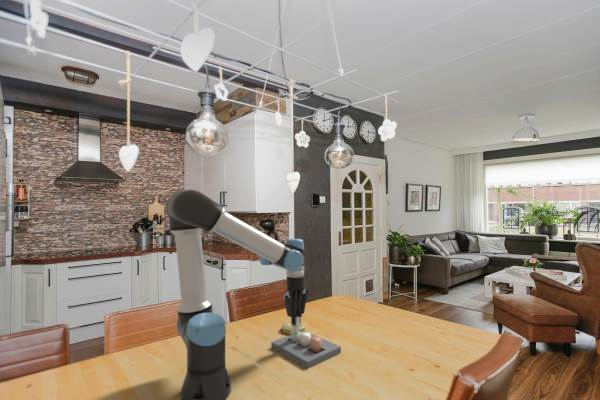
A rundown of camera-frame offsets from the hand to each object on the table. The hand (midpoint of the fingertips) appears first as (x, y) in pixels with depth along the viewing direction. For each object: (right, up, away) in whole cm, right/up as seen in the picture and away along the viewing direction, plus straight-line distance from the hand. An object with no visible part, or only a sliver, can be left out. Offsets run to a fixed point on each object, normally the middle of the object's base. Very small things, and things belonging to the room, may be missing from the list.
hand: (296, 332), depth 130 cm
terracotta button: (+8, -3, -9) cm, 12 cm away
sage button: (0, -4, 0) cm, 4 cm away
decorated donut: (-2, -7, +16) cm, 17 cm away
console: (+4, -6, -5) cm, 9 cm away
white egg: (+4, -3, -5) cm, 7 cm away
